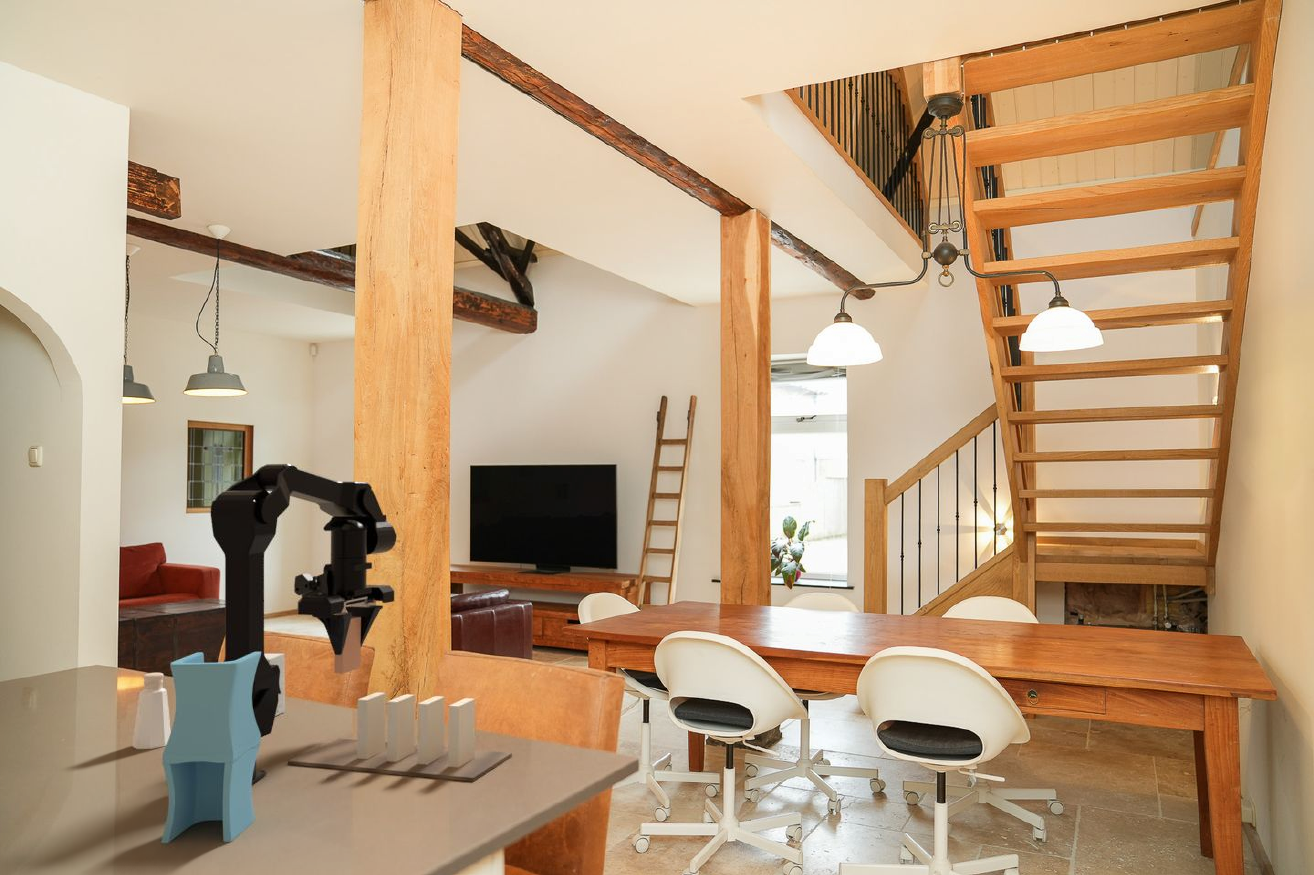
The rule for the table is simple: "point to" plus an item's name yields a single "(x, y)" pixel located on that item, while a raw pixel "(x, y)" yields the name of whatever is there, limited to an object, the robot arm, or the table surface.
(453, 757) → the domino
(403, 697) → the domino
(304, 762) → the walnut board
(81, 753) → the table surface
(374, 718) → the domino
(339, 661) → the terracotta domino
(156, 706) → the pepper shaker
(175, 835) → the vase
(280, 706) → the small box
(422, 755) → the domino
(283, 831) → the table surface
